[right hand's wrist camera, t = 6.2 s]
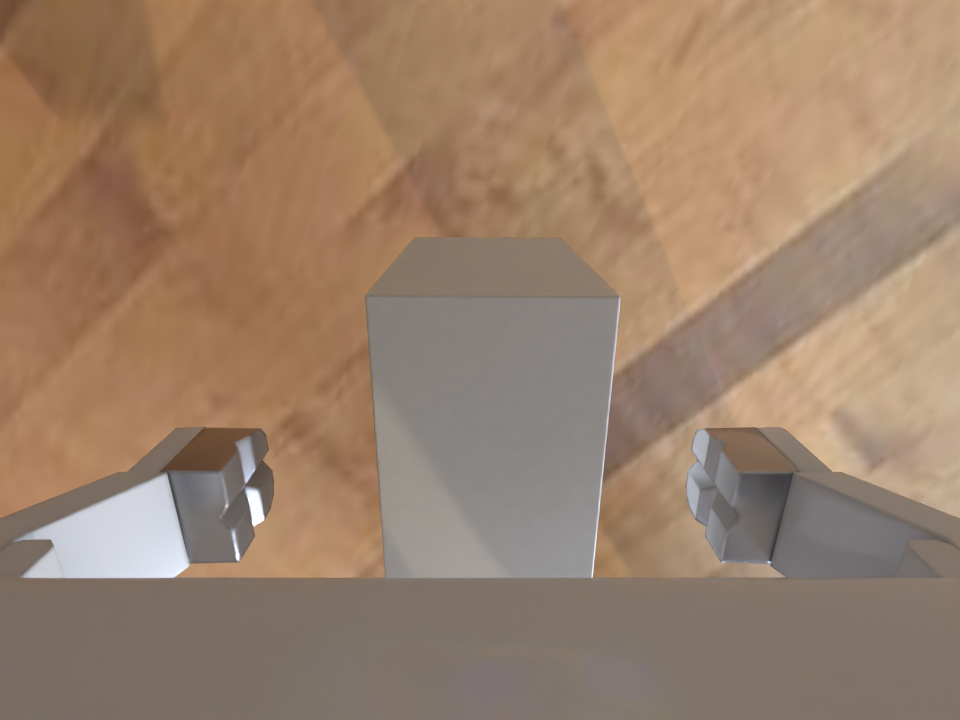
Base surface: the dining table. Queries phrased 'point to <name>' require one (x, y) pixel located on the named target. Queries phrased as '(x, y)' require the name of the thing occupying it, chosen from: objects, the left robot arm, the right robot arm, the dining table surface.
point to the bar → (490, 407)
